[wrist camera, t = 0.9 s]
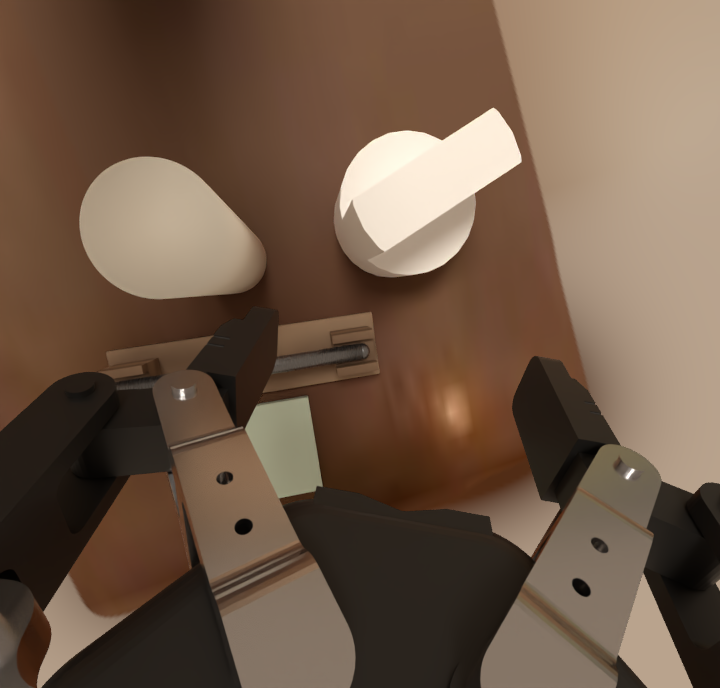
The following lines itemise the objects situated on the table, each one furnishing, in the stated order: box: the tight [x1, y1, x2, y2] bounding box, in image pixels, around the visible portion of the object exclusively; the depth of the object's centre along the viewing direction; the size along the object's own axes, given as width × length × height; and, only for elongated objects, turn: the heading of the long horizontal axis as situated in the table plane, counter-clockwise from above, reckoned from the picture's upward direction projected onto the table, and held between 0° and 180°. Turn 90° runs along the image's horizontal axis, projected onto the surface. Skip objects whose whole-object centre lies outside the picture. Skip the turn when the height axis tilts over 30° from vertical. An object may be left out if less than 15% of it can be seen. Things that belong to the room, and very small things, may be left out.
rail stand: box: [98, 312, 380, 393], centre depth 30 cm, size 5×20×4 cm, turn 98°
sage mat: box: [245, 395, 323, 498], centre depth 33 cm, size 8×8×1 cm
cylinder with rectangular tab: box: [334, 108, 521, 277], centre depth 26 cm, size 9×9×12 cm
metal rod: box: [115, 343, 370, 390], centre depth 29 cm, size 1×18×1 cm, turn 98°
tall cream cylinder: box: [79, 157, 267, 299], centre depth 23 cm, size 5×5×16 cm
